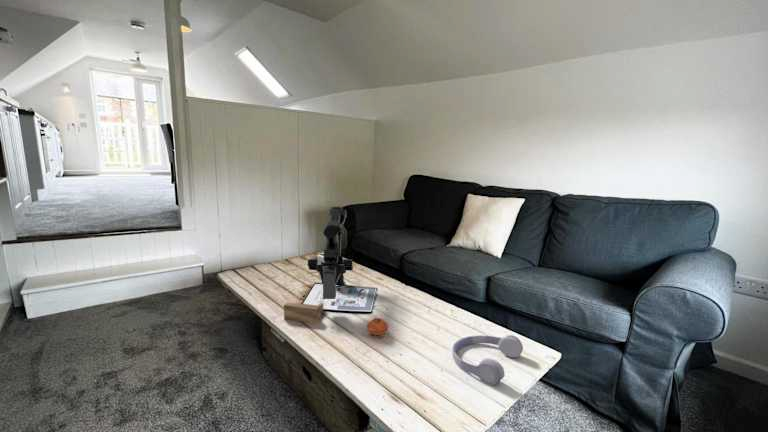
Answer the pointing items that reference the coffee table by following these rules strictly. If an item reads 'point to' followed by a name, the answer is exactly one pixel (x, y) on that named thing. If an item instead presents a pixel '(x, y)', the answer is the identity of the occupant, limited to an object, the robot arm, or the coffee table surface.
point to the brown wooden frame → (303, 312)
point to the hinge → (320, 257)
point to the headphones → (488, 367)
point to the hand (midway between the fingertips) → (329, 283)
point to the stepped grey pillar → (329, 283)
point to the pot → (377, 327)
